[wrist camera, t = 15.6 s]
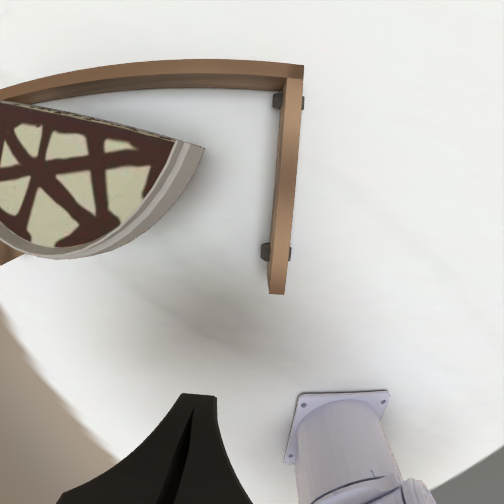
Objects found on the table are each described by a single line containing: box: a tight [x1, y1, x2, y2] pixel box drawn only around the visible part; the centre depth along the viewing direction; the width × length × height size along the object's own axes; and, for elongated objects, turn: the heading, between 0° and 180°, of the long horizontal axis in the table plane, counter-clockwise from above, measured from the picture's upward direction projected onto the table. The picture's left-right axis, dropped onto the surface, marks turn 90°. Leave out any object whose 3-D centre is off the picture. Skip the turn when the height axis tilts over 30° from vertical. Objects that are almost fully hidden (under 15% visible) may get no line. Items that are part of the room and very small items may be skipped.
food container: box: [0, 100, 205, 260], centre depth 14 cm, size 12×6×10 cm, turn 71°
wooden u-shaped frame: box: [0, 59, 304, 295], centre depth 17 cm, size 12×21×4 cm, turn 86°
